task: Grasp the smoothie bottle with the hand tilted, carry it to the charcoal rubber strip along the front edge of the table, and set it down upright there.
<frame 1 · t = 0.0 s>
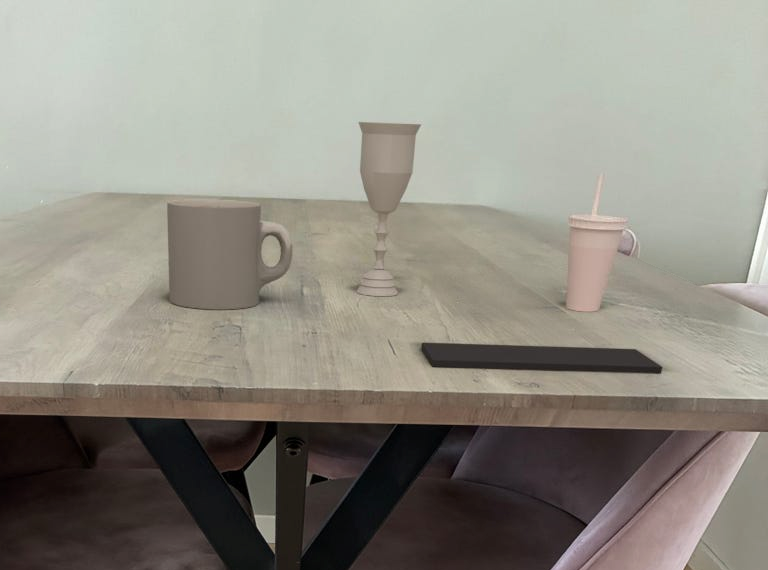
smoothie: (582, 310, 110), on the table
coffee mug: (229, 304, 106), on the table
edge strip: (537, 361, 85), on the table
chalice: (377, 294, 115), on the table
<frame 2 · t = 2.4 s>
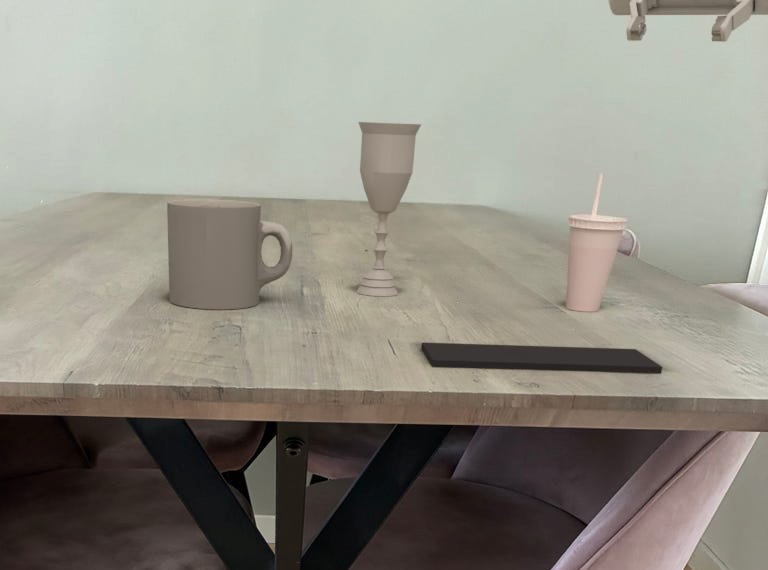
hand: (674, 36, 105), 27 cm above the table, tool tilted 45°, fingers open, 8 cm apart
nothing on the table moved.
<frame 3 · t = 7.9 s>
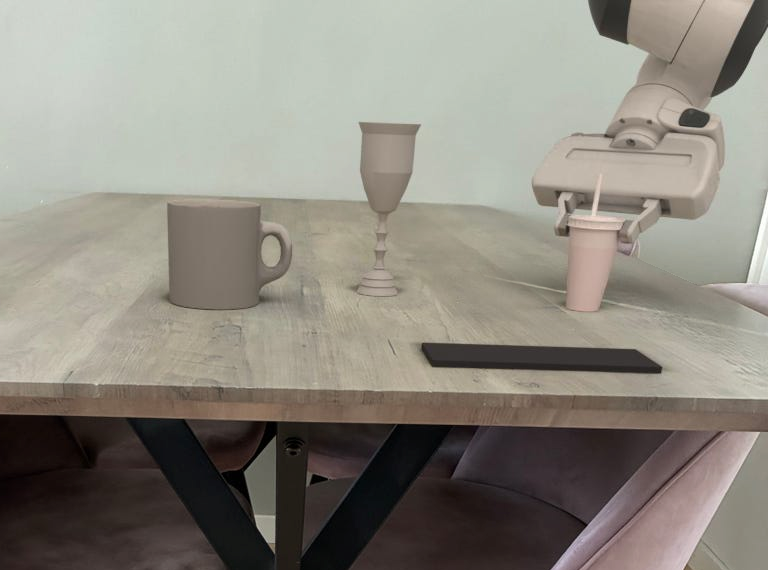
hand: (592, 236, 106), 8 cm above the table, tool tilted 45°, fingers closed on smoothie, 6 cm apart
smoothie: (581, 310, 110), on the table, touching gripper
everything else where it was.
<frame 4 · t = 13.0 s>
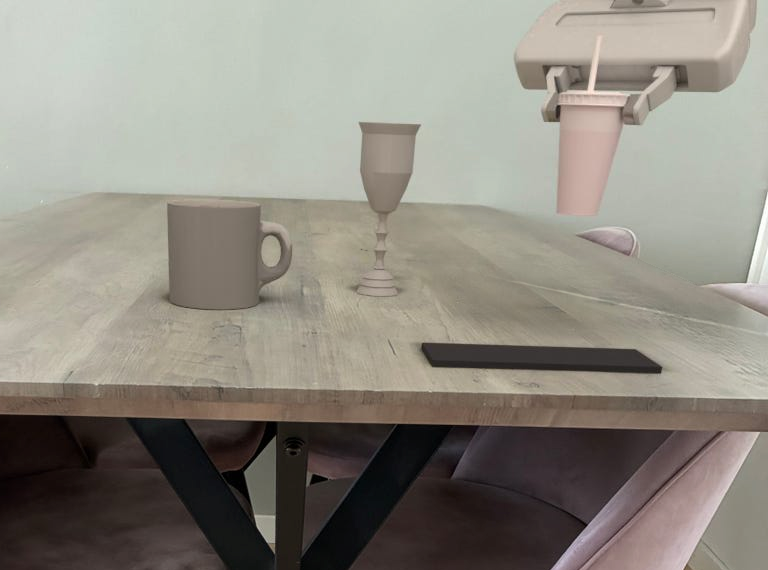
hand: (589, 118, 84), 19 cm above the table, tool tilted 45°, fingers closed on smoothie, 6 cm apart
smoothie: (576, 216, 88), point 11 cm above the table, touching gripper
everything else where it was.
when the fingers open (8 cm above the table, at t = 17.9 s): smoothie stays where it is, resting on edge strip.
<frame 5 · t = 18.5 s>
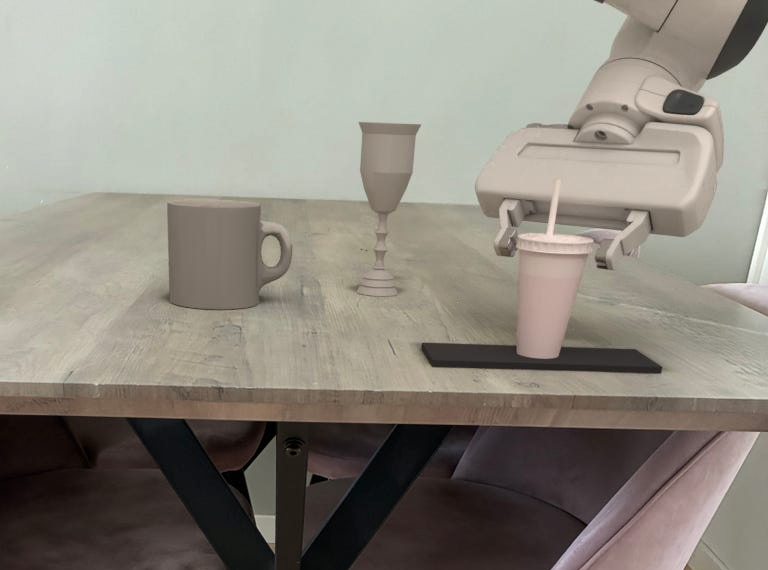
hand: (551, 258, 81), 9 cm above the table, tool tilted 45°, fingers open, 8 cm apart
smoothie: (537, 356, 85), resting on edge strip
everything else where it was.
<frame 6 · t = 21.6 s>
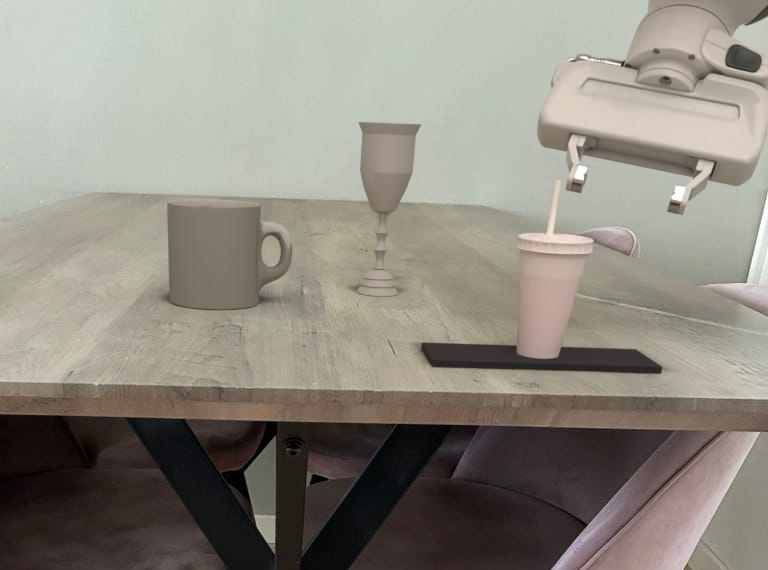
hand: (624, 198, 88), 13 cm above the table, tool tilted 40°, fingers open, 8 cm apart
nothing on the table moved.
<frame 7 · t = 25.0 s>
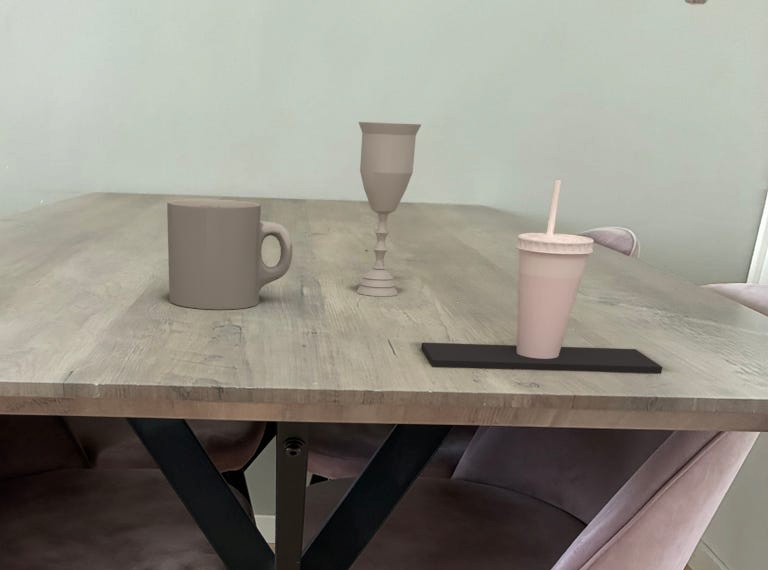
nothing on the table moved.
at the end: smoothie 0.1 cm off-centre on the edge strip, point 0.4 cm above the edge strip's base; smoothie tilted 0°; the gripper is holding nothing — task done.
